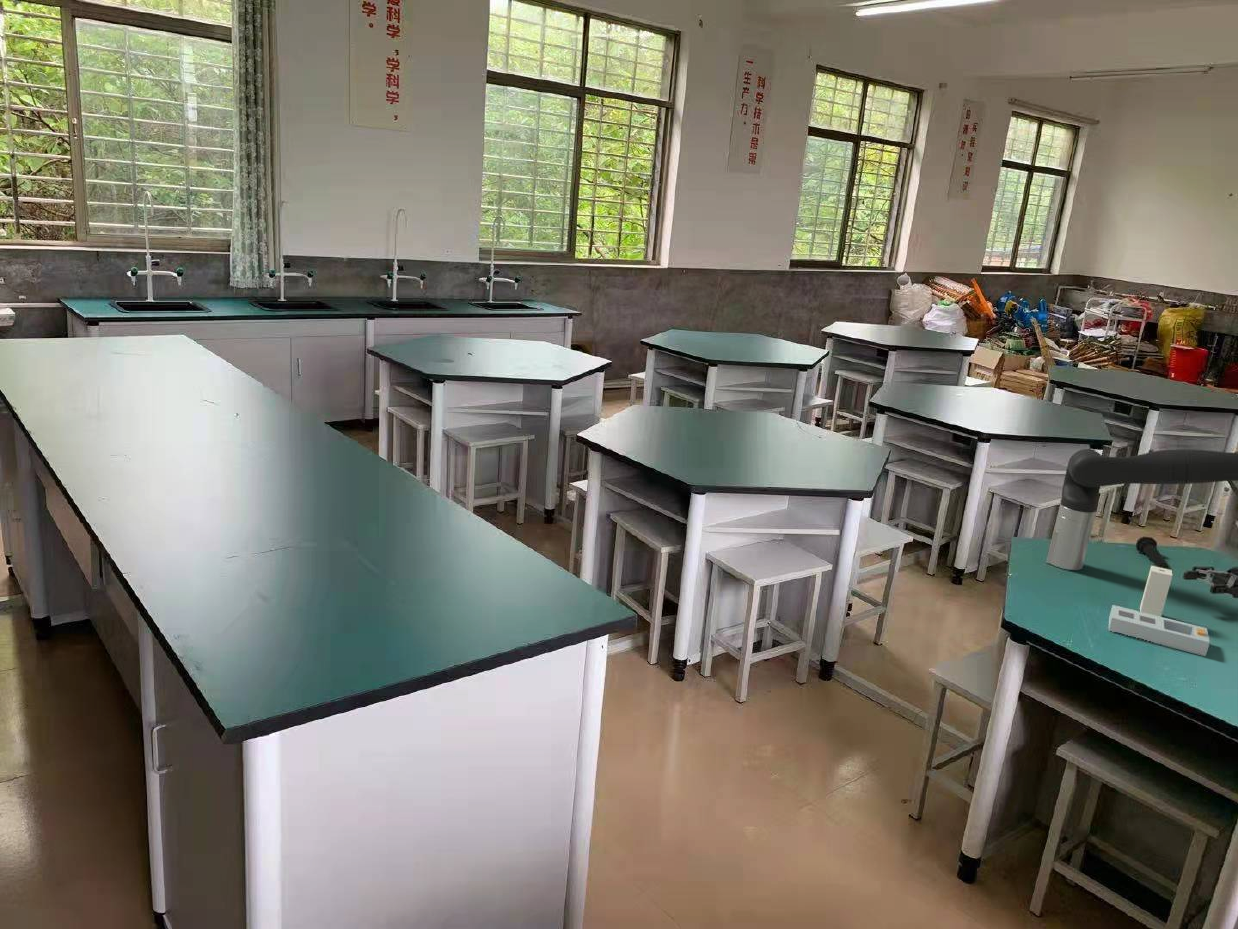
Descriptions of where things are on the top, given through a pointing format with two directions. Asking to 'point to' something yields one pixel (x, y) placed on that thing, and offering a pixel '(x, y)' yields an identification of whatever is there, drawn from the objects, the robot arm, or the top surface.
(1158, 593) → the block
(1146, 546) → the microphone
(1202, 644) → the power strip
